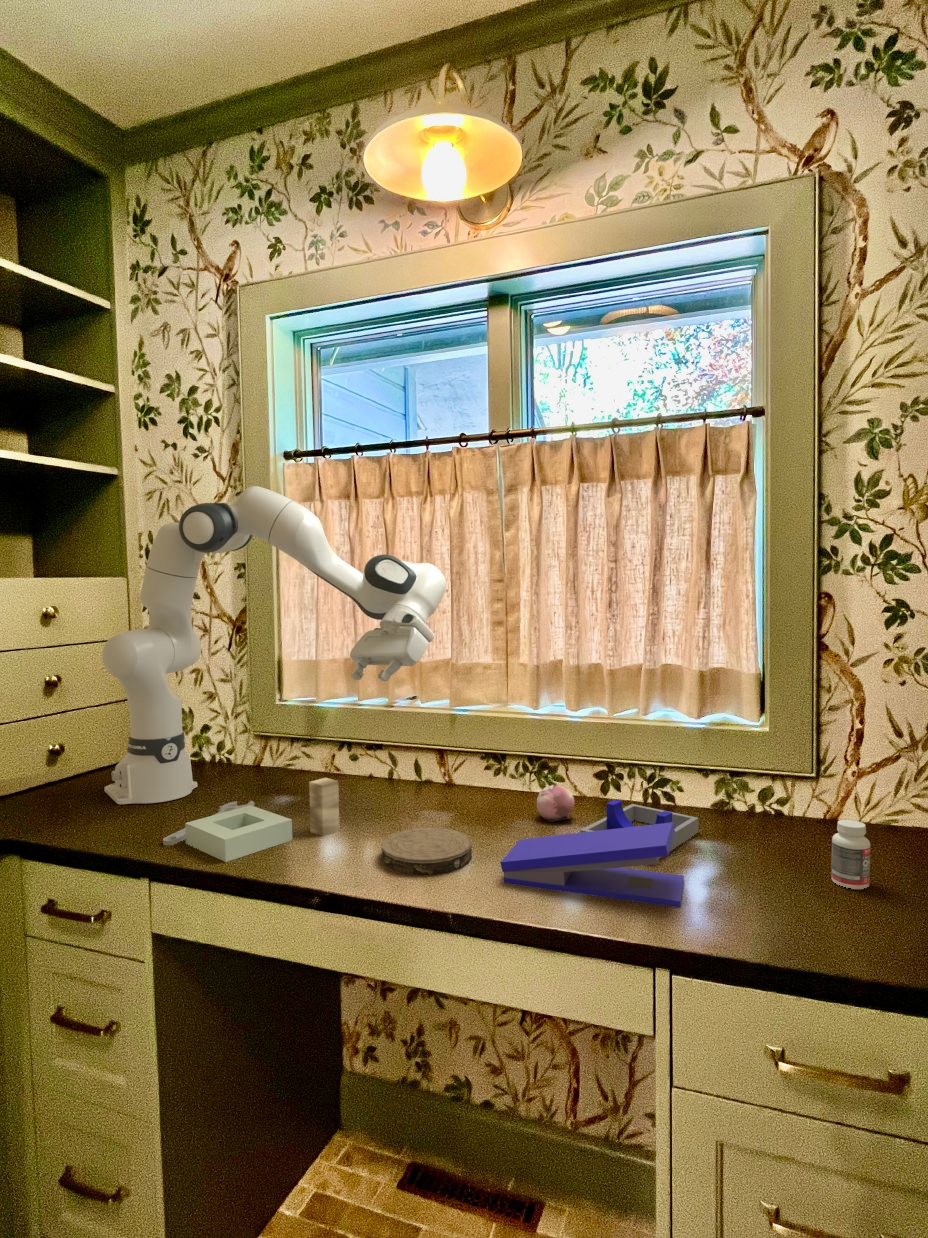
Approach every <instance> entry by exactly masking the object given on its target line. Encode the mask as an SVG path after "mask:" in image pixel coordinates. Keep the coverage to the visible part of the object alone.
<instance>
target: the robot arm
mask: <svg viewBox="0 0 928 1238" xmlns="http://www.w3.org/2000/svg"><path fill="white" fill-rule="evenodd" d="M253 537H256V538H258V539H260V540H262V541H264V542H265V543H267V544H269V545H270V546H272V547H275V548H276V549H277V550H279V551H281V552H283V553H284V554H286V555H288V556H289V557H291V558H293V559H294V560H295V561H297V562H298V563H300V564H301V565H302V566H303V567H305V568H306V569H308V570H309V571H310V572H311V573H313V574H314V575H316V576H317V577H318V578H320V579H321V580H322V581H323V580H324V581H325V582H326V583H328V584H329V585H330V586H332V587H334V588H335V589H336V590H338V591H340V592H341V593H343V594H344V595H345V596H347V597H349V598H350V599H351V600H352V601H353V602H354V603H355V604H356V606H358V607H359V609H360V610H361V612H363V614H364V615H365V616H367V617H369V618H370V619H374V620H377V621H380V622H379V627H380V628H379V627H375V628H373V629H372V630H368V631H366V632H365V633H364V634H363V635H362V636H361V637H360V638H359V639H358V641H357V642H356V644H355V645H354V646H353V647H352V649H351V650H350V653H349V657H350V659H352V661H354V664H355V665H354V669H353V671H352V673H351V675H350V676H351V678H352V679H354V680H355V681H361V679H362V678H363V677H364V675H365V674H364V669H366V668H367V667H368V666H386V667H385V668H384V669H381V670H380V672H379V674H378V675H377V678H378V679H379V680H380V681H381V682H388V681H389V679H390V678H391V676H393V675H395V673H397V672H398V671H399V670H400V668H401V667H413V666H414V665H416V664H417V663H418V662H419V661H420V660H421V658H422V657H423V655H424V653H425V652H426V650H427V648H428V646H429V643H430V642H432V641H433V640H434V638H435V636H436V635H435V633H434V632H433V631H432V630H431V629H430V627H428V625H427V624H428V623H427V622H428V620H429V618H430V617H431V616H432V615H433V614H434V613H435V611H436V610H437V609H438V607H439V604H440V603H441V601H442V599H443V597H444V595H445V592H446V589H447V581H446V578H445V575H444V574H443V573H442V571H441V570H440V569H439V568H438V567H436V566H435V565H434V564H432V563H428V562H421V563H412V562H409V561H404V560H401V559H399V558H398V557H396V556H393V555H391V554H390V555H389V554H378V555H375V556H373V557H372V558H370V559H369V560H368V561H367V562H366V564H365V567H364V568H363V569H364V570H363V572H361V571H359V570H358V569H356V568H355V567H353V566H352V565H350V564H349V563H347V562H346V561H344V560H343V559H341V558H340V556H338V555H337V554H336V553H335V552H334V550H333V549H332V547H331V545H330V543H329V541H328V539H327V537H326V533H325V530H324V527H323V525H322V522H321V520H320V519H319V517H318V516H317V515H315V514H314V513H313V511H311V510H309V508H307V507H305V506H304V505H303V504H300V503H299V502H297V501H295V500H294V499H291V498H289V497H288V496H285V495H283V494H282V493H279V492H276V491H273V490H271V489H268V488H265V487H262V486H258V485H253V486H250V487H247V488H245V489H244V490H243V491H242V492H241V493H240V494H239V496H238V497H237V499H236V500H235V502H234V503H232V504H228V503H226V502H201V503H199V504H195V505H193V506H191V507H188V509H186V510H185V511H184V512H183V513H182V515H181V517H180V519H179V522H168V523H165V524H164V525H162V526H160V528H159V529H158V531H157V533H156V535H155V537H154V540H153V542H152V546H151V548H150V551H149V554H148V558H147V562H146V566H145V571H144V574H143V579H142V580H143V581H142V583H141V588H140V594H139V598H140V599H139V601H140V602H141V604H142V605H143V607H145V608H146V609H147V610H148V617H149V622H148V623H149V625H148V627H147V628H143V629H141V628H139V629H131V630H127V631H124V632H121V633H119V634H118V633H117V634H115V635H114V636H112V637H110V638H109V639H107V640H106V642H105V643H104V645H103V649H102V652H101V653H102V655H101V656H102V663H103V665H104V667H105V670H106V671H107V672H108V674H110V675H111V676H113V677H114V678H115V679H116V680H117V681H118V682H119V683H120V685H121V686H122V689H123V691H124V693H125V696H126V699H127V704H128V709H129V724H130V736H129V737H127V739H128V740H127V748H126V752H127V753H126V754H125V756H124V757H122V759H121V760H120V761H119V762H118V763H117V764H116V765H115V766H114V767H115V768H114V770H112V771H111V775H110V776H111V781H114V783H110V784H108V785H106V786H104V792H105V793H106V794H107V795H108V796H109V797H110V798H111V799H112V800H113V801H114V802H115V803H116V804H117V805H128V804H129V805H130V804H155V803H165V802H170V801H173V800H178V799H180V798H184V797H186V796H188V795H190V794H191V793H192V791H193V790H194V789H195V788H197V787H199V786H198V782H197V781H193V771H192V764H191V762H192V761H191V755H190V753H188V751H186V750H185V748H186V737H185V732H184V731H183V705H182V701H181V698H180V697H179V696H178V694H176V693H174V692H173V691H172V690H171V688H170V686H169V683H168V681H167V676H166V675H167V674H171V673H178V672H180V671H183V670H185V669H187V668H189V667H191V666H193V665H194V664H195V663H196V662H198V660H199V659H200V656H201V653H202V645H201V641H200V639H199V636H198V635H197V634H196V632H195V631H194V628H193V624H192V623H193V622H192V604H193V600H194V595H195V591H196V587H197V580H198V576H199V572H200V571H199V570H200V565H201V563H202V560H203V558H204V557H205V556H206V554H224V553H228V552H235V551H239V550H240V549H243V548H244V547H245V548H246V546H247V545H248V544H249V543H250V542H251V541H252V539H253Z"/></svg>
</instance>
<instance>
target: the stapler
mask: <svg viewBox="0 0 928 1238" xmlns="http://www.w3.org/2000/svg"><path fill="white" fill-rule="evenodd" d="M634 826H635V827H626V828H618V829H609V830H600V831H591V832H583V833H580V832H575V833H567V834H559V835H549V836H539V837H531V838H525V839H524V838H523V839H519V840H518V841H517V842H516V843H515V845H514V846H513V847H512V848H511V849H510V850H509V851H508V853H507V854H506V855H505V857H503V858H502V860H501V861H500V868H501V872H502V873H503V884H505V885H506V884H507V885H515V886H522V887H529V888H536V889H544V890H549V891H550V890H551V891H558V892H566V893H572V894H579V895H586V896H592V897H593V896H594V897H601V898H609V899H617V900H621V901H631V902H638V903H646V904H653V905H660V906H665V907H666V906H667V907H673V906H674V908H681V904H682V897H681V896H683V890H682V889H684V883H685V882H684V880H685V879H684V878H685V877H684V875H682V874H673V873H667V872H666V873H665V872H659V871H658V872H657V871H648V870H641V869H632V867H640V866H651V865H658V864H659V860H660V859H659V857H661V858H664V857H669V855H670V848H671V845H672V841H673V837H674V834H675V830H674V826H673V822H670V823H661V824H653V825H652V824H645V825H644V824H643V825H637V826H636V825H634ZM630 867H631V868H630Z"/></svg>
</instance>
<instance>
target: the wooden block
mask: <svg viewBox="0 0 928 1238" xmlns="http://www.w3.org/2000/svg"><path fill="white" fill-rule="evenodd" d="M308 787H309V826H310V828H309V829H310V830H309V831H310V833H311V834H315V835H318V836H320V837H326V836H329V835H332V834H335V833H338V832H340V799H339V797H340V794H339V793H340V791H339V790H340V789H339V780H336V779H332V778H328V777H323V778H322V777H321V778H319V779H316V780H312V781H309V783H308Z"/></svg>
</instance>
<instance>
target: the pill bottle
mask: <svg viewBox="0 0 928 1238" xmlns="http://www.w3.org/2000/svg"><path fill="white" fill-rule="evenodd" d="M836 830H837V833H834V834H833V836H832V837H831V838H832V839H831V880H832V882H833V883H834V884H835V883H836V885H837V886H839V885H840V886H839V887H841V886H843V887H842V888H844V887H846V888H845V889H848V888H851V889H850V890H865V889H867V887H868V888H869V887H870V873H871V872H870V870H871V869H870V868H871V842H870V840H869V839H868V838H867V837H866V836H865V835H866V833H867V826H866V824H865V823H864V822H862V821H858V820H853V819H839V820H838V821H837V826H836ZM864 888H865V889H864Z"/></svg>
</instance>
